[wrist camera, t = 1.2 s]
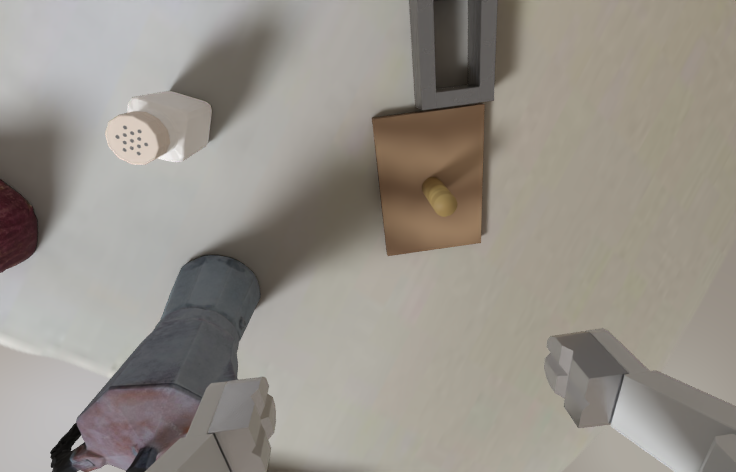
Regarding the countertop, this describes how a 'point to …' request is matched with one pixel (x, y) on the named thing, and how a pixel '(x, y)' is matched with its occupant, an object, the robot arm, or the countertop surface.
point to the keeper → (430, 177)
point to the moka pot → (166, 371)
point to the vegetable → (15, 228)
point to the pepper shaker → (160, 128)
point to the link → (479, 56)
